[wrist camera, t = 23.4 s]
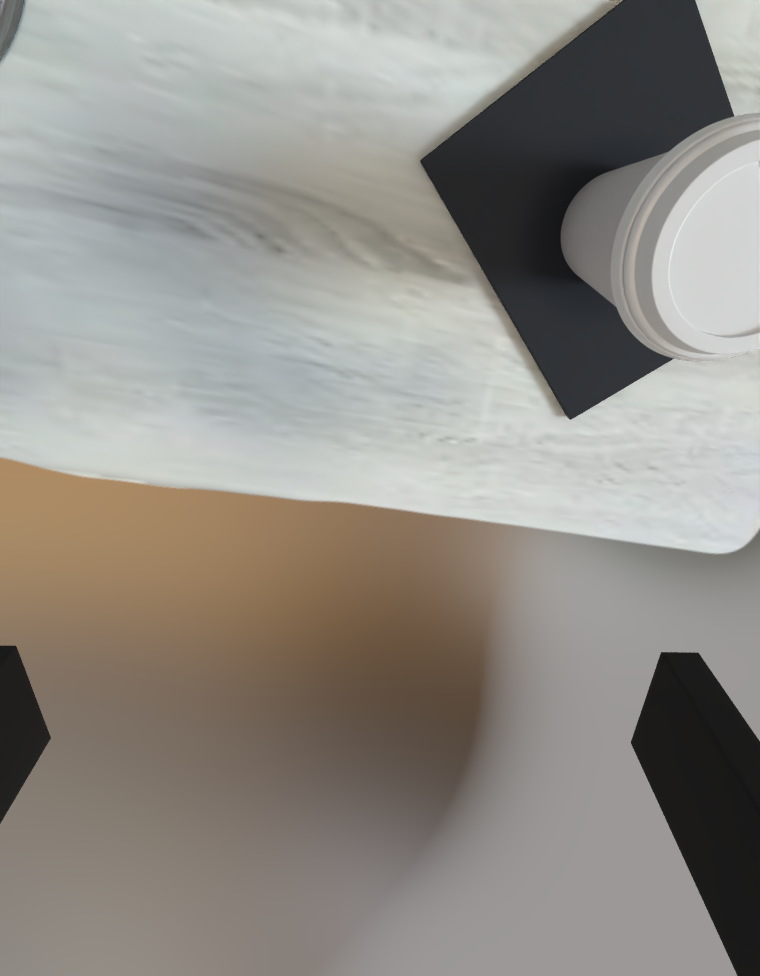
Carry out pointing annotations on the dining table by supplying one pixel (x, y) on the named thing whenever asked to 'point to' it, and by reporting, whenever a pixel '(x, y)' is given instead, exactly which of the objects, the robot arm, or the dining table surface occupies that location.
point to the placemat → (576, 179)
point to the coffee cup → (678, 243)
